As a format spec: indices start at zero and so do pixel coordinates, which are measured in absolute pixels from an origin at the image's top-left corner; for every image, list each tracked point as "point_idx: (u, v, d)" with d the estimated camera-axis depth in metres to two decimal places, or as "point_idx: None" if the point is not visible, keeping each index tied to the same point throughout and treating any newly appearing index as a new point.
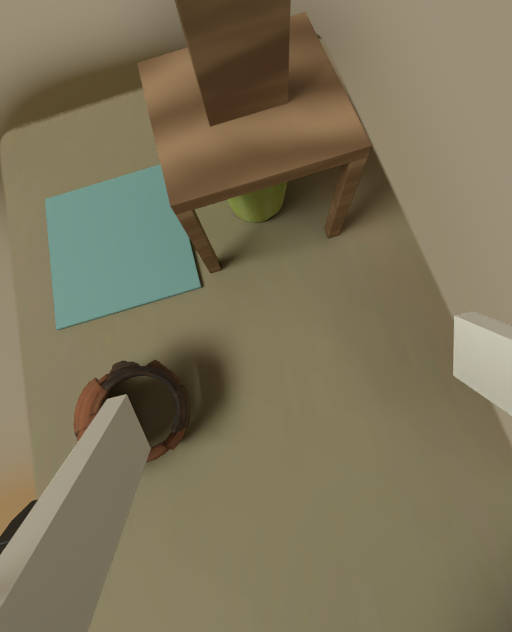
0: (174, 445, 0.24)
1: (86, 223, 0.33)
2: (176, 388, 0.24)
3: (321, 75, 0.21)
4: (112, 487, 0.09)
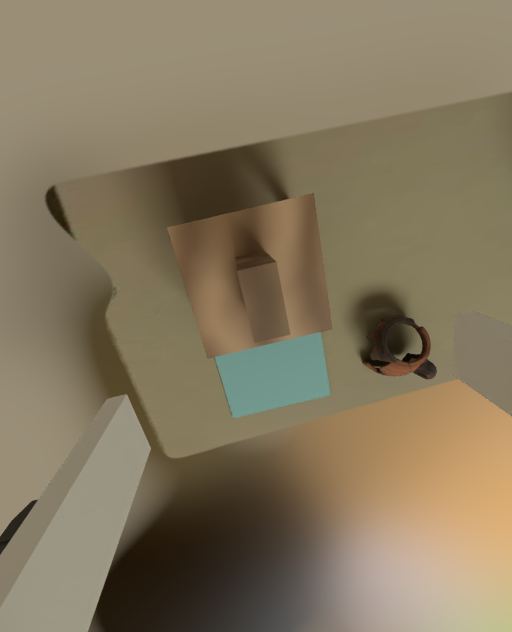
0: (414, 323, 0.43)
1: (256, 388, 0.47)
2: (392, 323, 0.40)
3: (242, 221, 0.27)
4: (112, 487, 0.09)
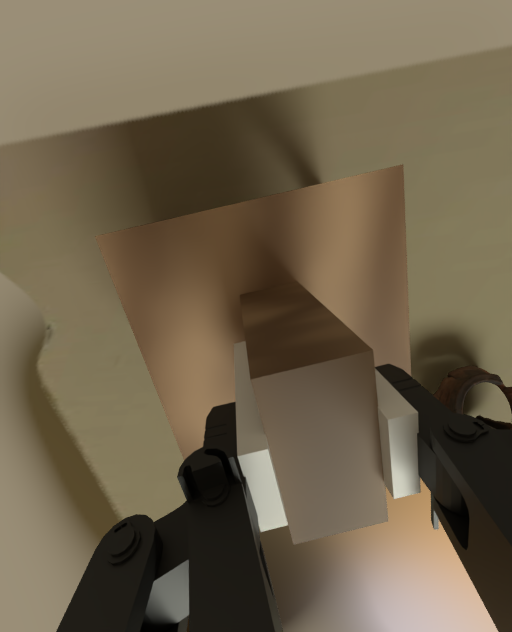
0: None
1: None
2: (469, 383, 0.27)
3: (253, 224, 0.13)
4: None
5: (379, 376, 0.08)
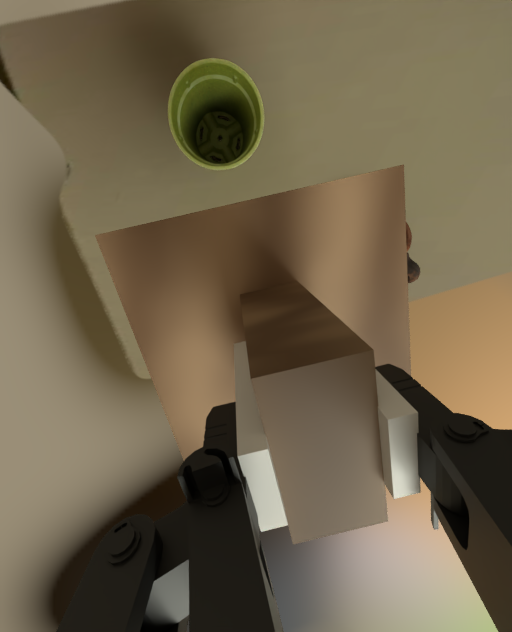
0: None
1: None
2: None
3: (253, 223, 0.13)
4: None
5: (379, 376, 0.08)
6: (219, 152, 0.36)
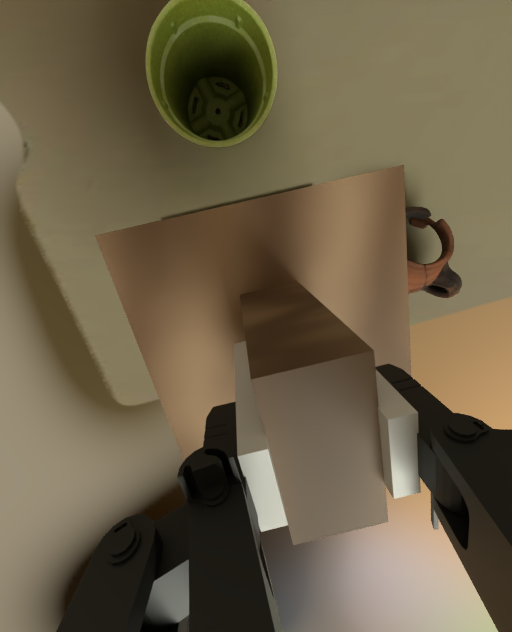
0: None
1: None
2: None
3: (253, 223, 0.13)
4: None
5: (379, 376, 0.08)
6: (217, 130, 0.29)
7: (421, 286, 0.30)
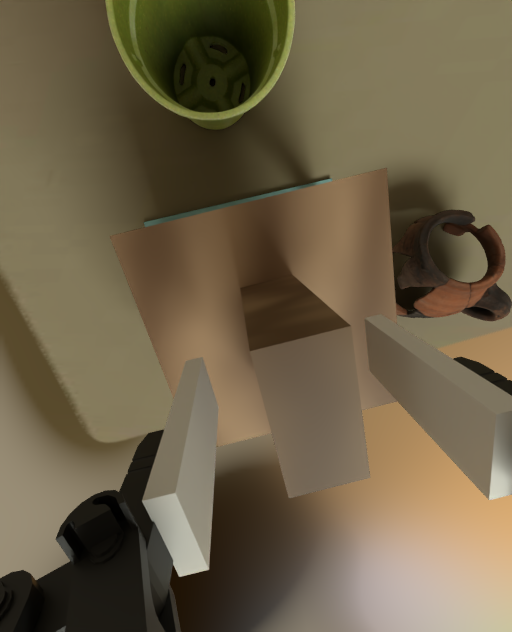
0: None
1: None
2: (436, 218, 0.23)
3: (251, 223, 0.15)
4: (206, 427, 0.10)
5: (465, 369, 0.08)
6: (211, 106, 0.22)
7: (462, 309, 0.24)
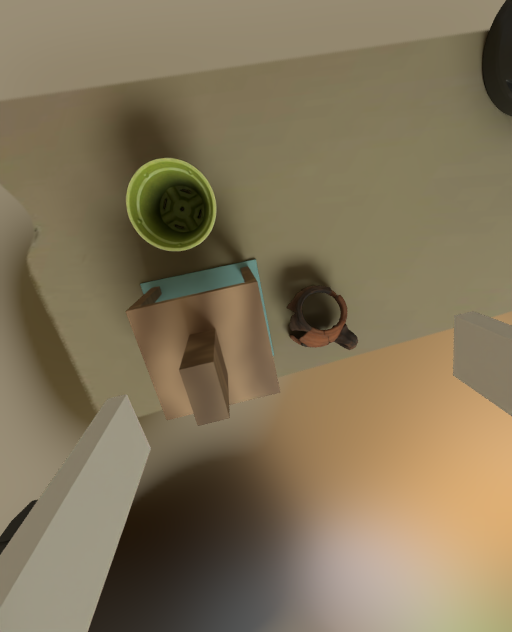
0: (334, 292, 0.42)
1: None
2: (308, 291, 0.40)
3: (194, 305, 0.31)
4: (112, 487, 0.09)
5: None
6: (182, 221, 0.39)
7: (326, 343, 0.41)
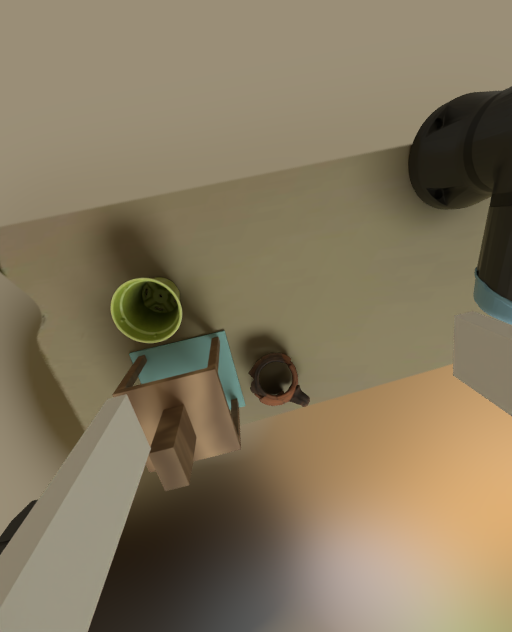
0: (289, 359, 0.50)
1: None
2: (264, 362, 0.48)
3: (165, 388, 0.39)
4: (112, 487, 0.09)
5: None
6: (161, 304, 0.47)
7: (282, 403, 0.49)
